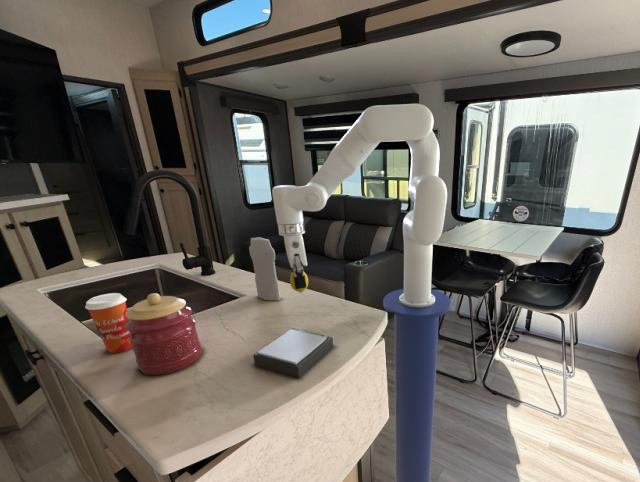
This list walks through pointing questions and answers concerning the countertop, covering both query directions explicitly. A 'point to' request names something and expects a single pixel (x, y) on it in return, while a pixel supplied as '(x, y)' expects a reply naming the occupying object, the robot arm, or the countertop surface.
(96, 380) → the countertop surface
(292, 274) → the lemon
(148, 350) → the kitchen canister
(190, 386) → the countertop surface
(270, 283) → the grey stone slab
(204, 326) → the countertop surface
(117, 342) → the paper cup
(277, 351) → the scale
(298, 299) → the countertop surface
